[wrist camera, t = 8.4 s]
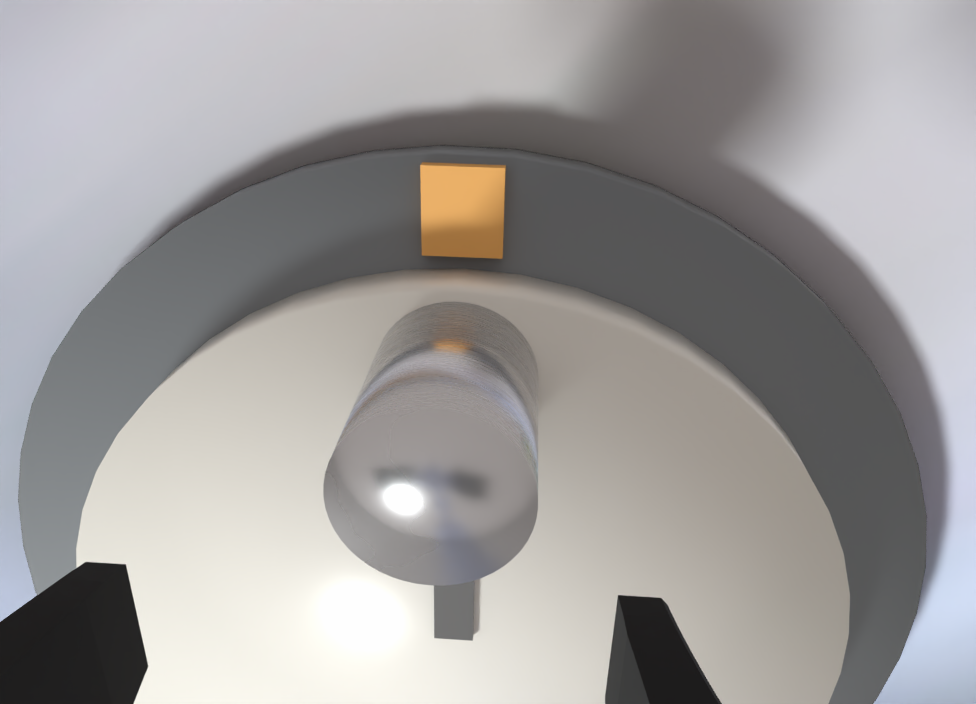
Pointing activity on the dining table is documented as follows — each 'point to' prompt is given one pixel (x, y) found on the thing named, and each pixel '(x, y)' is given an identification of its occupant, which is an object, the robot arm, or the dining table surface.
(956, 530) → the dining table surface
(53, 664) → the robot arm
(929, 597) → the dining table surface
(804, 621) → the dial
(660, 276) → the stand base
